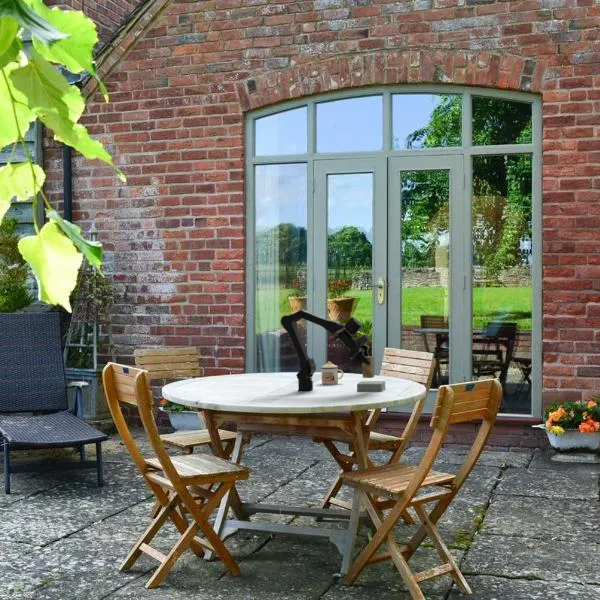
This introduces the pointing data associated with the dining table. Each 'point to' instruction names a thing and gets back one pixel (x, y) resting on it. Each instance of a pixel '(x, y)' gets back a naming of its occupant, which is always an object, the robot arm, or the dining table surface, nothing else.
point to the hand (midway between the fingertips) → (370, 363)
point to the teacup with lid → (330, 373)
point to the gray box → (371, 386)
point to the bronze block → (368, 368)
